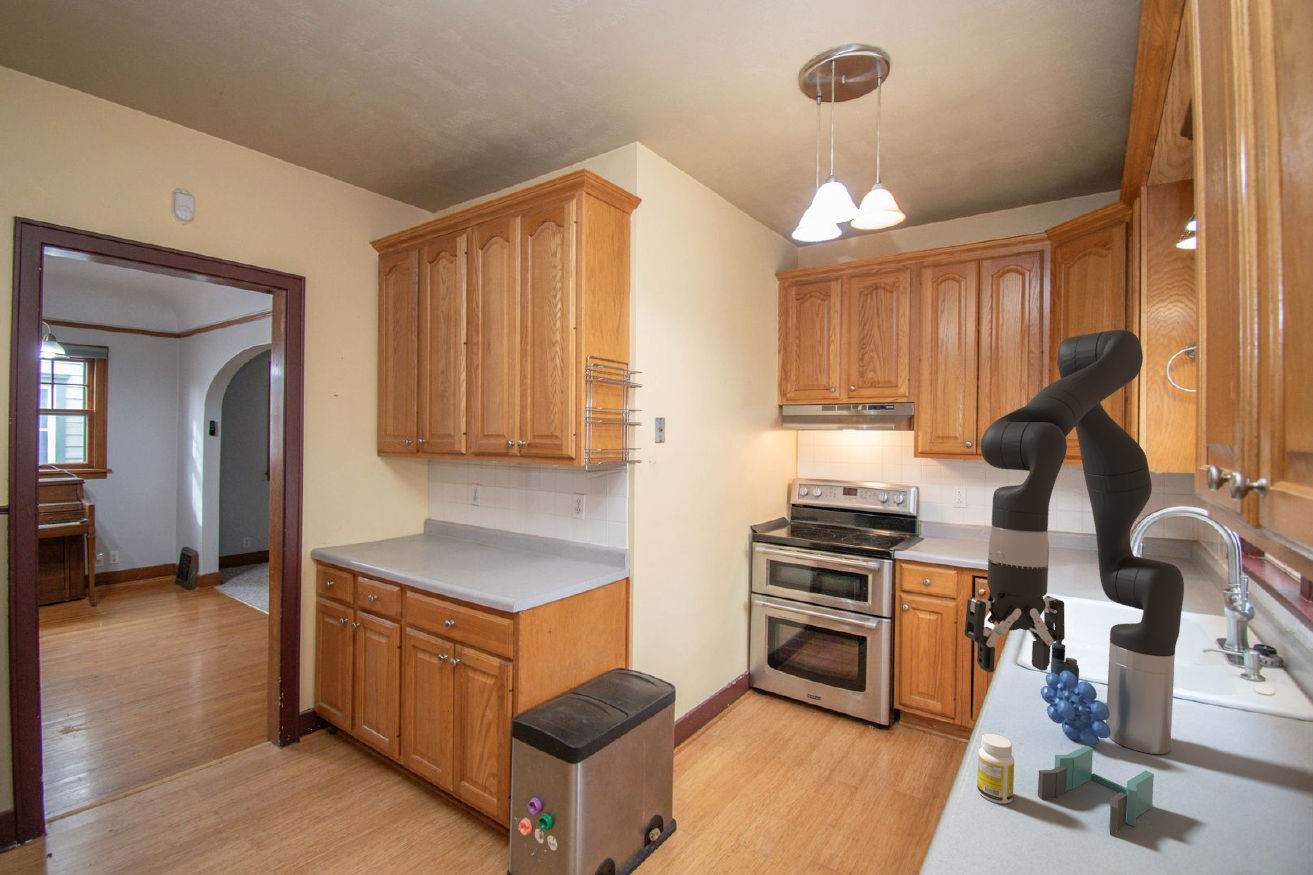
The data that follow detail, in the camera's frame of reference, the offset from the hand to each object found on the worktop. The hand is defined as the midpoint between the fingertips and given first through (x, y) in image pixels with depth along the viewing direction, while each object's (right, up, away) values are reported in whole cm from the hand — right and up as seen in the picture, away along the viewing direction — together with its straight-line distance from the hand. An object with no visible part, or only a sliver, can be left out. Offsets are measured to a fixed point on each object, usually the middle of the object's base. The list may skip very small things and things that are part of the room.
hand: (1012, 669), depth 88 cm
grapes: (+23, -21, +21) cm, 37 cm away
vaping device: (+34, -21, +39) cm, 56 cm away
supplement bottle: (-1, -21, +3) cm, 21 cm away
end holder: (+17, -21, +4) cm, 27 cm away
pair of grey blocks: (+10, -21, 0) cm, 23 cm away
